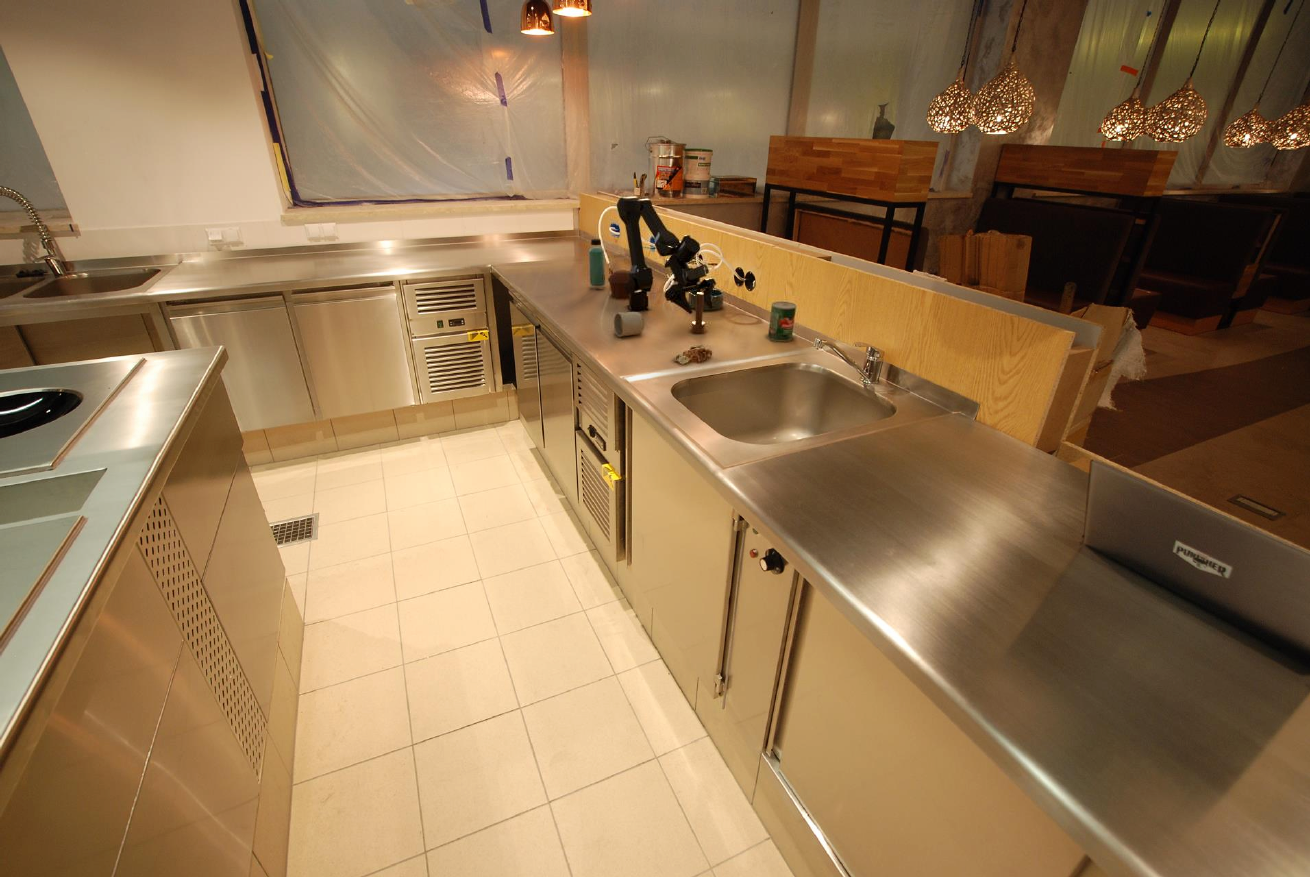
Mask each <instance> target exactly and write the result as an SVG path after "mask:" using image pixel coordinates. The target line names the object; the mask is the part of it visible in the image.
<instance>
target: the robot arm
mask: <svg viewBox="0 0 1310 877" xmlns="http://www.w3.org/2000/svg"><path fill="white" fill-rule="evenodd" d="M616 209H617V213H618V216H619V218H620V220H621V221H622V223H623V224H624V226H625V233H626V239H627V245H628V251H629V257H630V263H631V267H630V269H629V271H630V272H629V281H628V283H627V284H626V285H625V287H624V288H625V292H626V293H628V294H629V298H628V305H627V308H629V310H630V311H631V312H636V311H637V312H638V311H648V310H649V296H648V293H651V290H652V287H653V284H654V278H655V277H654V276H653V269H652V267H650V266H648V265H647V263H646V259H645V253H644V248H643V241H642V235H641V234H642V233H641V228H640V220H641V217H642V219H643V221H644V223H645V224H646V227H648V229H649V231H650V232H651V234H652V236H653V238H654V247H655V249H656V252H657V253H658V255H659V256H660V257H669V258H667V259H665V263H664V268H665V269H667V268H669V269H670V271H671V273H672V275H673V277H674V278H673V279H672V280H673V282H674V284H671V285H670V286H669V287H668V289H667V290H666V291H664V297H665V300H666V301H667V302H670V303H673V304H675V305H676V306H678V307H680V308H682V310H684V311H685V312H687V314H689V315H691V314H693V308H692V307H690V305H689V303H688V299H687V293H689V292H692V291H698V292H701V293H704V300H703V301H704V302H705V303H706V305H707V306H708V307H709V308H710V309H712V308H713V303H712V289H715V286H716V285H717V282H716V280H715V278H713V277H709V278H706V277H708V276H707V275H708V274H709V272H710V269H709V267H708V266H707V264H706V263H704V264H701V265H698V266H697V267H689V265H688V264H689V263H691V262H692V261H693V260H694V258H695V257H696V256H697V254H698V253H699V252H700V250H701V245H700V243H699V241H697V240H696V239H694V238H693V237H691V236H690V234H688V235H684V236H683V237H682V239H681V240H680V239H679V238H678V237H677V235H675V233H674V232H672V231H670V230H668V229H667V227H666V226H665V224H664V222H663V221H662V219H661V217H660V216H659V214H658V213H657V211H656V209H655V208H654V206H653V203H652V200H650V199H649V198H642V199H641V198H638V196H623V197H619V199H618V201H617V202H616ZM704 277H705V278H704ZM701 278H704V279H702V281H701ZM700 281H701V282H700Z"/></svg>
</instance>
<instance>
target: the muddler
mask: <svg viewBox="0 0 1310 877" xmlns="http://www.w3.org/2000/svg"><path fill="white" fill-rule="evenodd" d="M703 300H704V293H701V292H698V293H697V294H696V309H695V315H694V316H695V317H694V321H692V323H691V332H692V333H693V334H699V335H700V334H704V333H705V332H706V331H705V330H706V322H704V321H703V317H704V316H703V315H704V314H703V313H704V311H703Z"/></svg>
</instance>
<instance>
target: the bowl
mask: <svg viewBox="0 0 1310 877" xmlns="http://www.w3.org/2000/svg"><path fill="white" fill-rule="evenodd" d="M697 293H698V291H692V292H688V299H687V301H688V303H689V305H690V307H691V309H692V310H693V309H694V310H696V294H697ZM724 297H725V295H724V291H722V290H720V289H716V288H713V289H712V303H713V308H712V309H710V308H709V307H708V306H707V305H706V303H705V302H704V301H703V312H705V311H706V312H708V311H709V312H710V311H711V312H712V311H717V310H719V309H721V308H723V306H724Z"/></svg>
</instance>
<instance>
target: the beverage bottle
mask: <svg viewBox="0 0 1310 877" xmlns="http://www.w3.org/2000/svg"><path fill="white" fill-rule="evenodd" d="M590 245H591V246H592V247H590V249H589V250H588V259H589V284H590V286H592V287H603V286H605V285H606V272H605V269H606V268H605V250H604V248H602V247H601V245H602V240H601V239H600V238H591V239H590Z"/></svg>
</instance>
